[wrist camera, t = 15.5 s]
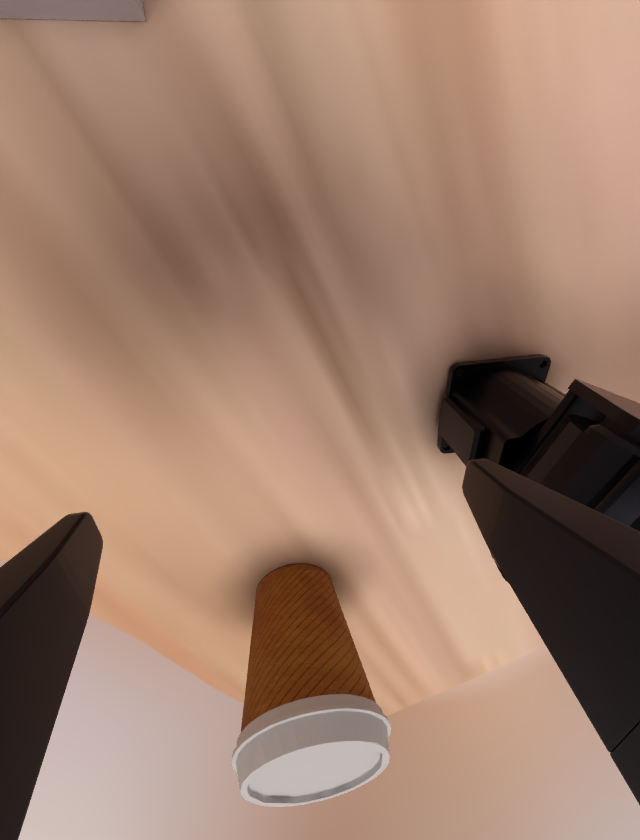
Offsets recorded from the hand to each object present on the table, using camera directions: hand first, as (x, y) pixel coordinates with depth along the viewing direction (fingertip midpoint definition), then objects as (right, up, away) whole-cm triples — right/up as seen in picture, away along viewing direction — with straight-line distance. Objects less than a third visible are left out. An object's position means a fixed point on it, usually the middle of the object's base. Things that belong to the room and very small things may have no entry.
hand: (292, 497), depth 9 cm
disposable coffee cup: (-1, -12, +23) cm, 26 cm away
